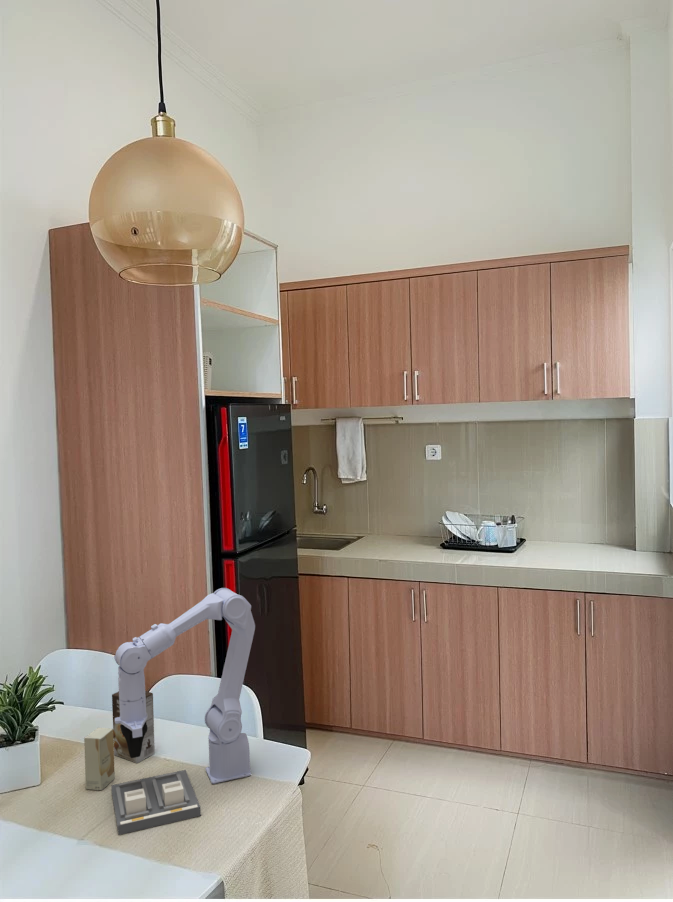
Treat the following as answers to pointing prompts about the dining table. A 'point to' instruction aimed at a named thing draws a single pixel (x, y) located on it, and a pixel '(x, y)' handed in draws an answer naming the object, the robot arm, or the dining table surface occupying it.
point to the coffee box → (120, 740)
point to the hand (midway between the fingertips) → (135, 756)
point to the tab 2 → (173, 793)
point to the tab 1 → (135, 801)
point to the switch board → (154, 803)
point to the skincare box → (99, 758)
